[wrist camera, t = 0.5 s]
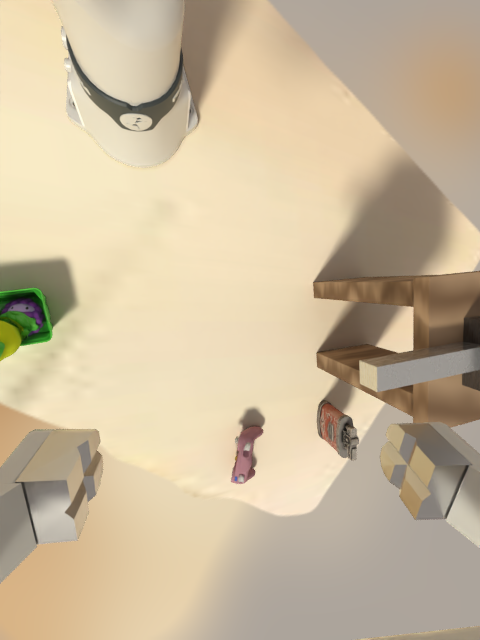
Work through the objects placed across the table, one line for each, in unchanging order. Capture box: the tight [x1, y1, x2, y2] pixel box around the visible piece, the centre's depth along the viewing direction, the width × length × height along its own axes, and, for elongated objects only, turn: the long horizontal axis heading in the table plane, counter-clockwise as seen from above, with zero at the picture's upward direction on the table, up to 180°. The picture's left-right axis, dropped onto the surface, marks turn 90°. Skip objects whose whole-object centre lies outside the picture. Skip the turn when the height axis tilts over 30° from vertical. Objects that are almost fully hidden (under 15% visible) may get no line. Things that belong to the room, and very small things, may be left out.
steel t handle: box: [359, 316, 480, 392], centre depth 31 cm, size 8×18×4 cm, turn 95°
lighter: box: [317, 401, 359, 461], centre depth 56 cm, size 8×3×10 cm, turn 3°
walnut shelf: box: [313, 271, 480, 428], centre depth 47 cm, size 18×14×26 cm
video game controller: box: [231, 426, 263, 484], centre depth 54 cm, size 10×5×7 cm, turn 169°
